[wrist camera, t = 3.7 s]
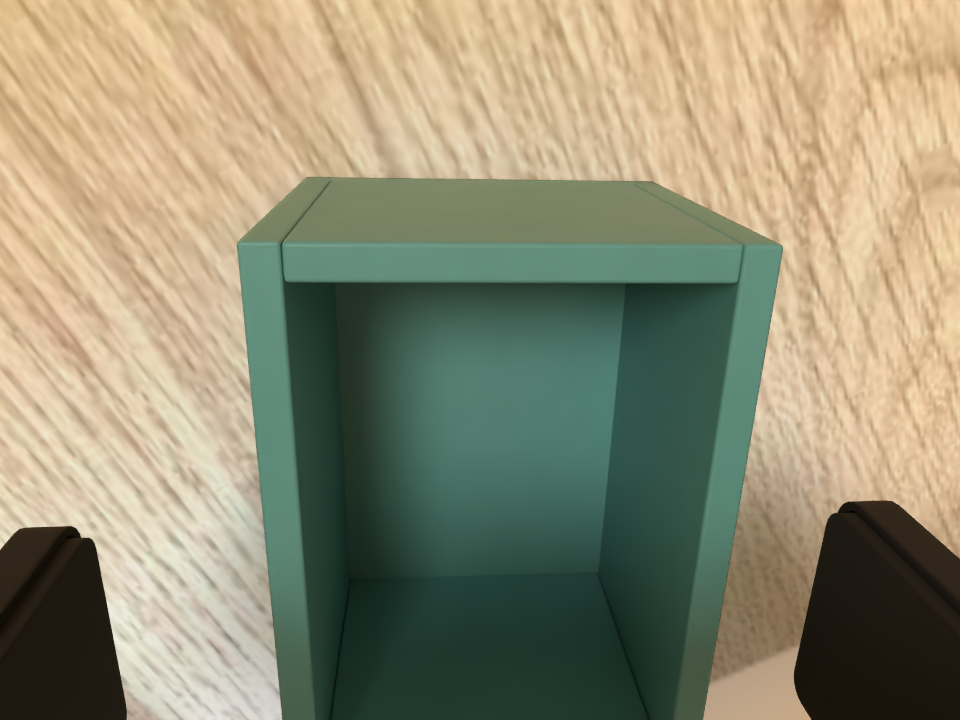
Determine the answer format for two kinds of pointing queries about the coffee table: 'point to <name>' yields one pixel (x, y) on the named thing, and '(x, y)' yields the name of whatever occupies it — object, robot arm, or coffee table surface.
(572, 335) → the small bin
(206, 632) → the coffee table surface
